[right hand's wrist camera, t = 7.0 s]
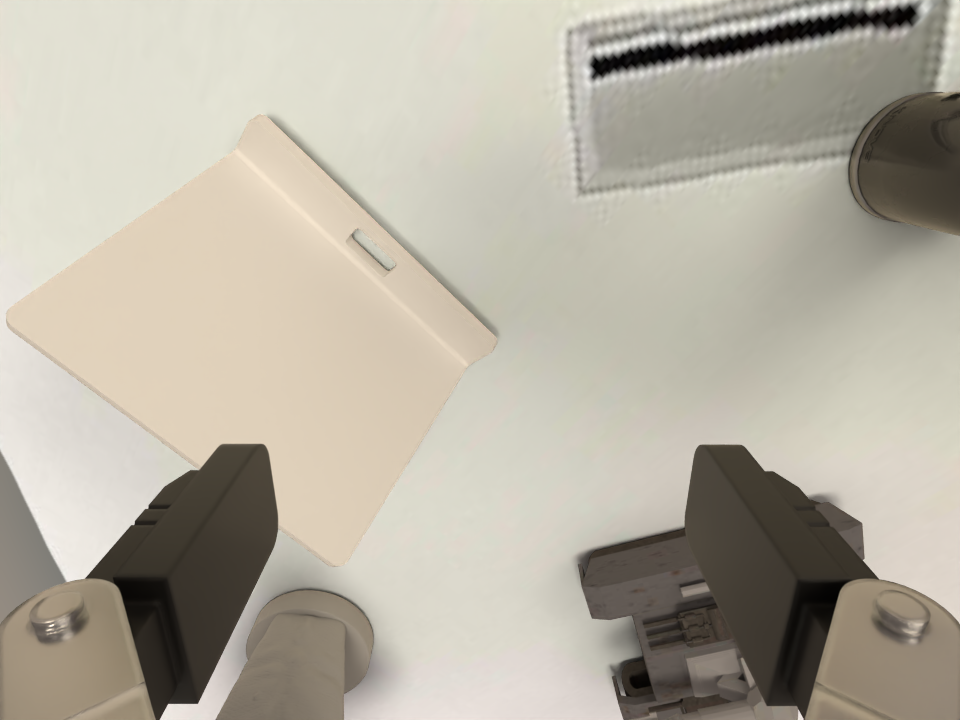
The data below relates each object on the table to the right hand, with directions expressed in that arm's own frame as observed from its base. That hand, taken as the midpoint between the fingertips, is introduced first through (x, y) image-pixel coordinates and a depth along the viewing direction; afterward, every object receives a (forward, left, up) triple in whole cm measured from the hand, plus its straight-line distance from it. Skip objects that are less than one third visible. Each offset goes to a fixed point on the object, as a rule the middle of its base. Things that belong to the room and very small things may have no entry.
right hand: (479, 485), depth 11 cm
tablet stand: (+9, +13, -39) cm, 42 cm away
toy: (-39, +25, -39) cm, 61 cm away
